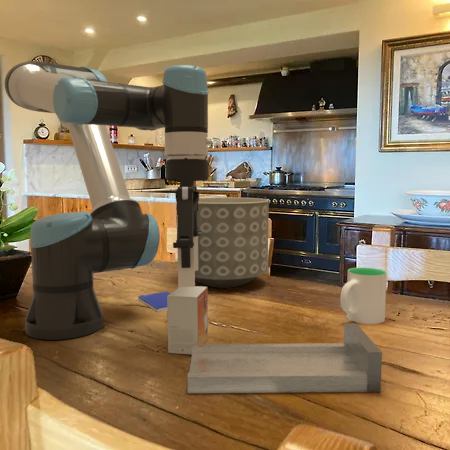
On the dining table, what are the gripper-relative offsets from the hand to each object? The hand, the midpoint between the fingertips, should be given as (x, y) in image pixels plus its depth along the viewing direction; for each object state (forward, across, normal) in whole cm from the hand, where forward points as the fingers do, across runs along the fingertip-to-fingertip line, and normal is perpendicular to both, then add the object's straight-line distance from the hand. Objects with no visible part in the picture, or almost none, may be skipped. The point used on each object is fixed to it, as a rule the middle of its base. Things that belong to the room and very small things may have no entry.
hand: (189, 278), depth 85 cm
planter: (+13, +49, -7) cm, 51 cm away
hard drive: (+13, +30, +8) cm, 33 cm away
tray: (+13, -12, -15) cm, 23 cm away
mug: (+13, +15, -36) cm, 41 cm away
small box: (+13, 0, 0) cm, 13 cm away
